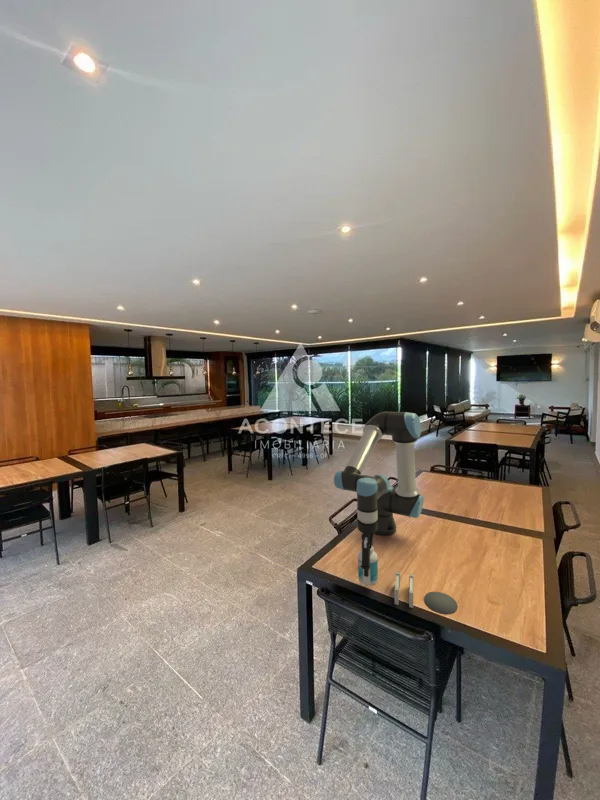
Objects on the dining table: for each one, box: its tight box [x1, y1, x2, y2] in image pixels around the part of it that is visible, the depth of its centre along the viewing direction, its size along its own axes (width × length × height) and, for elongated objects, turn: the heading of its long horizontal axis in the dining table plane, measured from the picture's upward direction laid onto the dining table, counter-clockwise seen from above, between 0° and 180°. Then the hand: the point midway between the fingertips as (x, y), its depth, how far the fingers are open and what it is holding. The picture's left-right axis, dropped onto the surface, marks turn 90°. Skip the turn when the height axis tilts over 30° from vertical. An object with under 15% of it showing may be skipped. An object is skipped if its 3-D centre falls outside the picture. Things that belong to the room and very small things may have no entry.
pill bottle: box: [357, 545, 379, 587], centre depth 126 cm, size 8×7×14 cm
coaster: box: [423, 591, 458, 615], centre depth 118 cm, size 11×11×1 cm
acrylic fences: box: [394, 570, 414, 609], centre depth 122 cm, size 11×6×6 cm, turn 161°
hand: (367, 576), depth 127 cm, fingers closed on pill bottle, 7 cm apart
